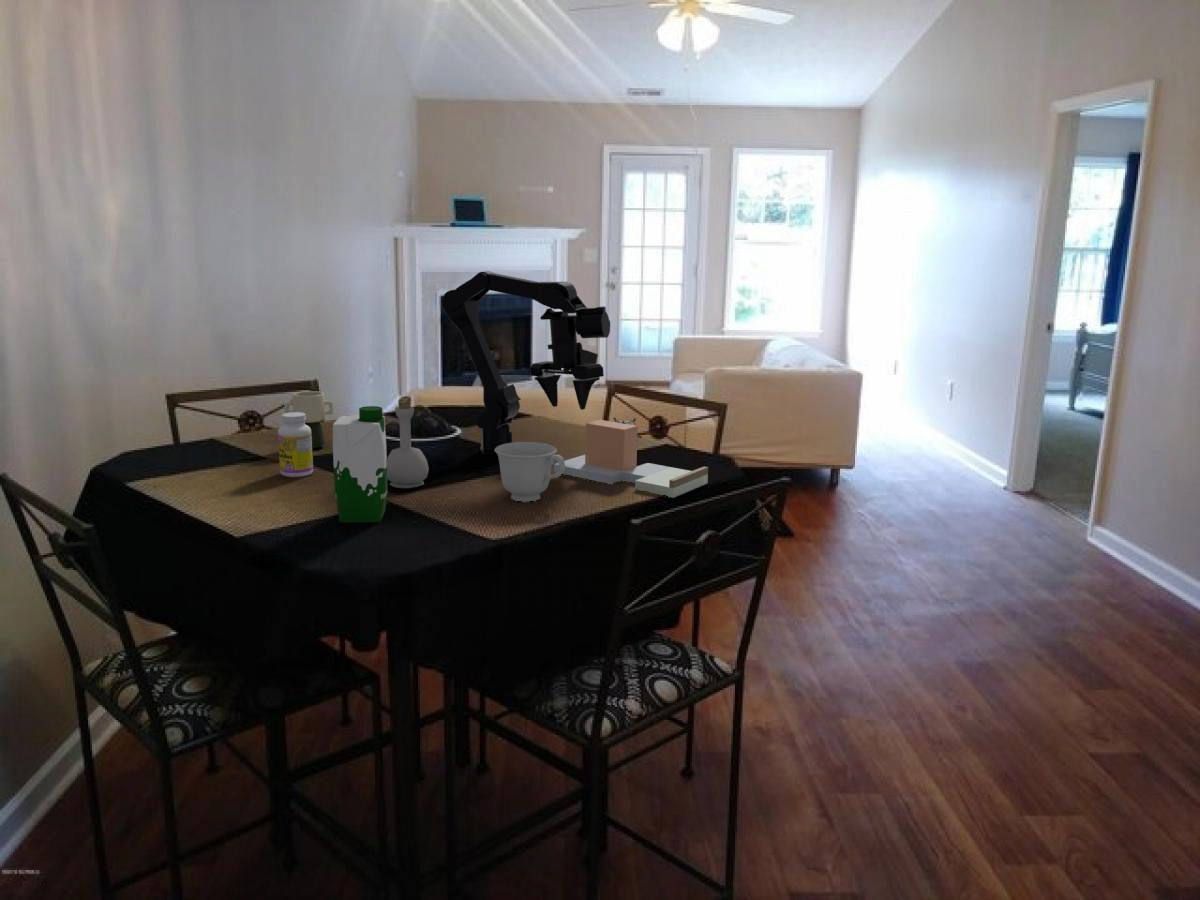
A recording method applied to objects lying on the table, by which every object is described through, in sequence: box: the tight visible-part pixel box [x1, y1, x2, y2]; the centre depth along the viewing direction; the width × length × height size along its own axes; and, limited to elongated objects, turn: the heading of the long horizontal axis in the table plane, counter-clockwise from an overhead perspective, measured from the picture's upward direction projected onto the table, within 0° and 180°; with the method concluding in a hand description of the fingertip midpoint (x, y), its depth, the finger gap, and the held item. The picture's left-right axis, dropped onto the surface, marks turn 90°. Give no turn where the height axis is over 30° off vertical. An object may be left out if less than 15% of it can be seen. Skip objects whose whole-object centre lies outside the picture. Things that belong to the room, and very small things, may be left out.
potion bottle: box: [387, 395, 430, 489], centre depth 188 cm, size 9×9×18 cm
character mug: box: [283, 390, 334, 449], centre depth 218 cm, size 11×7×13 cm, turn 103°
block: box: [584, 419, 639, 471], centre depth 199 cm, size 10×5×9 cm, turn 55°
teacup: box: [495, 441, 565, 503], centre depth 180 cm, size 12×15×10 cm
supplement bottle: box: [277, 412, 314, 478], centre depth 195 cm, size 7×7×13 cm
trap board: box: [553, 454, 709, 499], centre depth 198 cm, size 30×14×4 cm, turn 55°
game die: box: [613, 416, 643, 442], centre depth 221 cm, size 9×8×10 cm
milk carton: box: [332, 405, 388, 524], centre depth 166 cm, size 9×9×20 cm
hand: (568, 407), depth 211 cm, fingers open, 9 cm apart
